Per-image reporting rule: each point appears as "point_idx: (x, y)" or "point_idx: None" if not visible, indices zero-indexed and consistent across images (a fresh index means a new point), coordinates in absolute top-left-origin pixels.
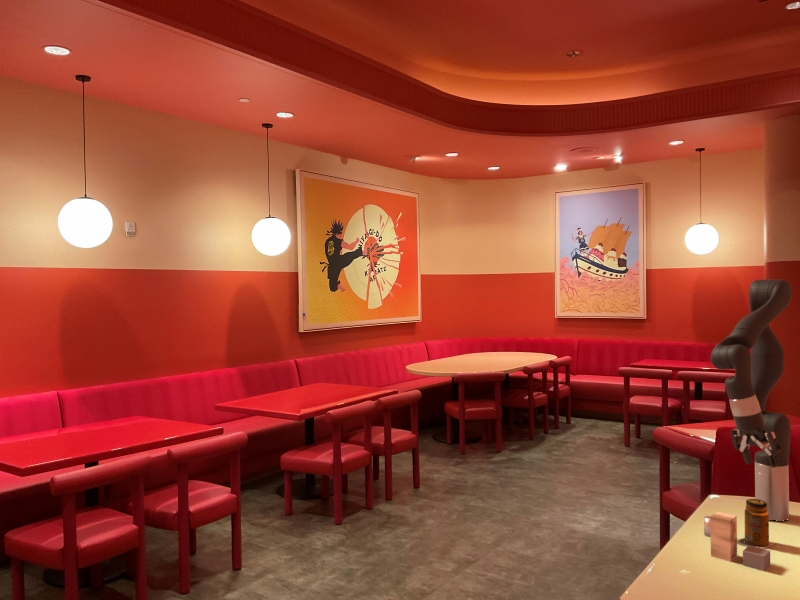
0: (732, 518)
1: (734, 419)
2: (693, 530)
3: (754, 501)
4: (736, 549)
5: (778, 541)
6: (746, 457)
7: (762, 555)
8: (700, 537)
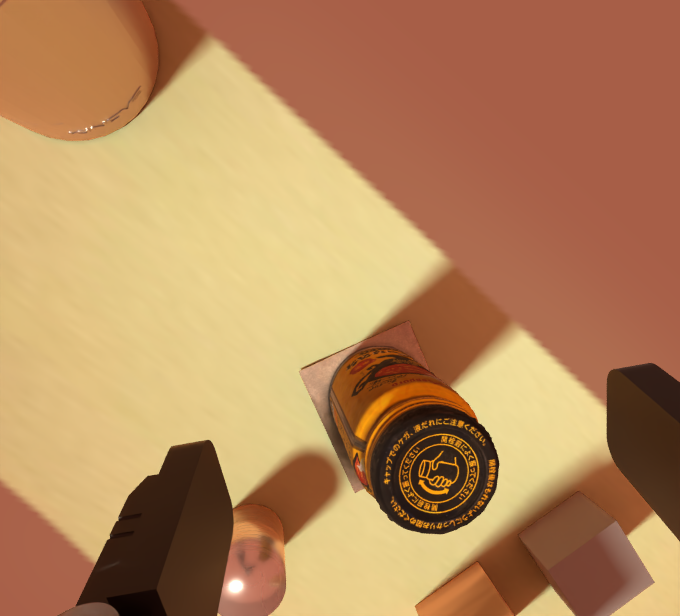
0: None
1: None
2: None
3: (428, 482)
4: (493, 585)
5: (386, 285)
6: (218, 602)
7: (644, 580)
8: None
